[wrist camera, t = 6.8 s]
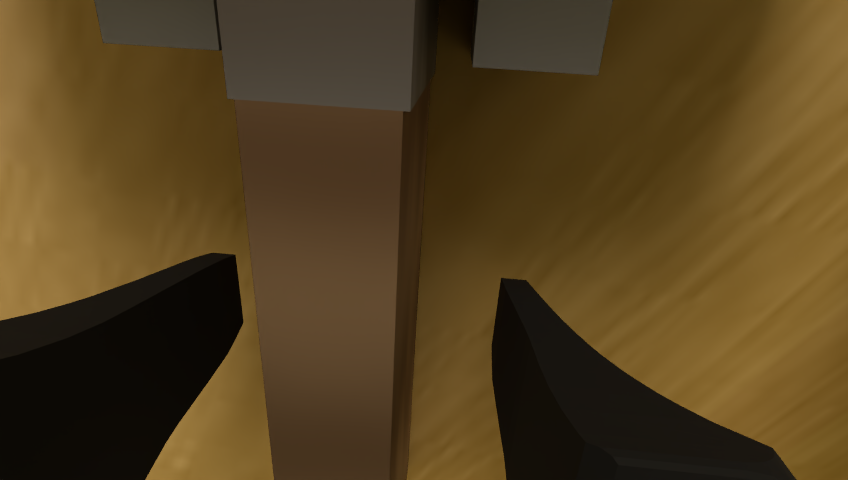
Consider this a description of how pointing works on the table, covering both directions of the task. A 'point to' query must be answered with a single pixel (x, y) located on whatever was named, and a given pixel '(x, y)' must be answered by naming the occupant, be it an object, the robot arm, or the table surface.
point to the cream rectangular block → (490, 45)
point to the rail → (334, 219)
